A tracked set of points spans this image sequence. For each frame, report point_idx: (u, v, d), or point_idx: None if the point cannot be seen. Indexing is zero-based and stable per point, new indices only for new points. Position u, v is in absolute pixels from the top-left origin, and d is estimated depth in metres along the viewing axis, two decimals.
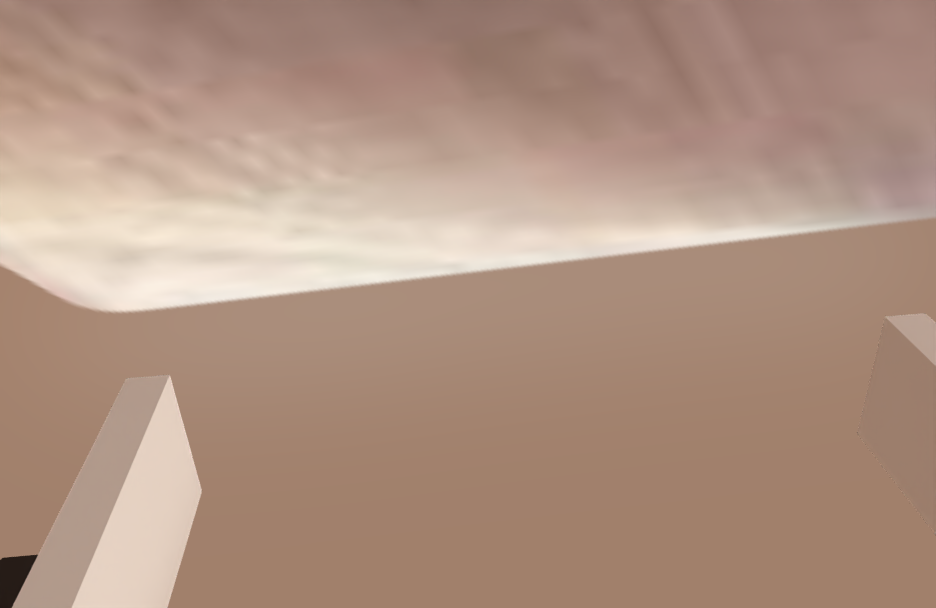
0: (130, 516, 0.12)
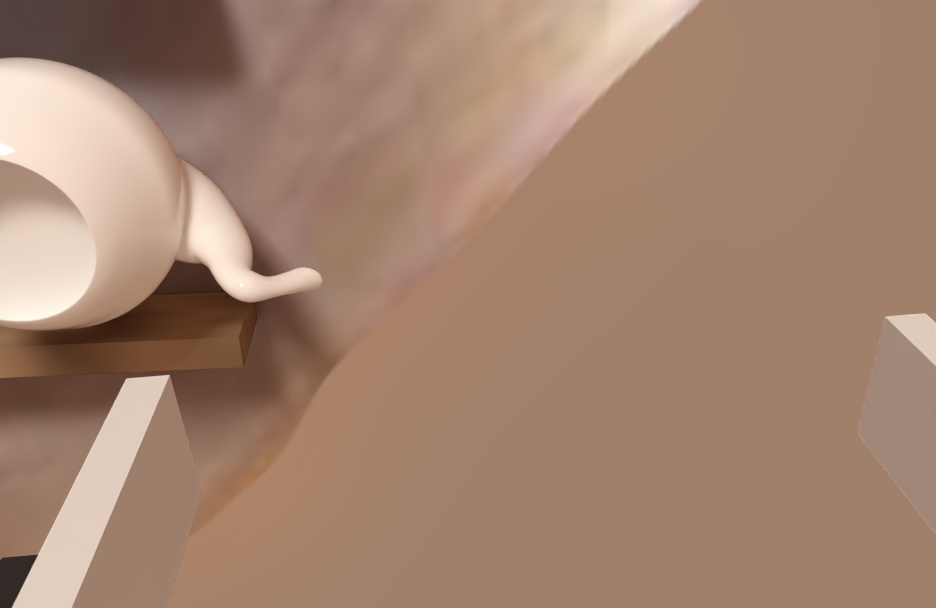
0: (130, 516, 0.12)
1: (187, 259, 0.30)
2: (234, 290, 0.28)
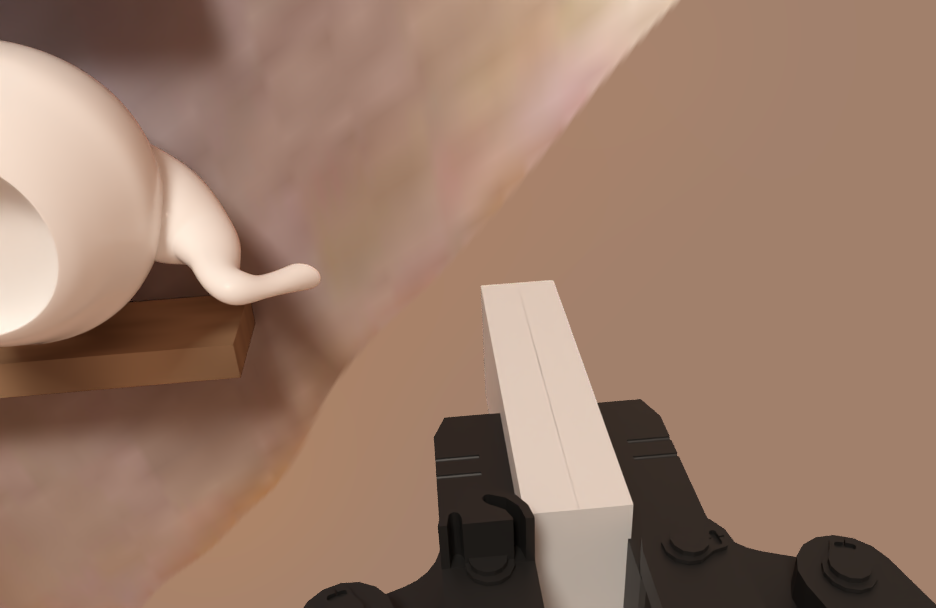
0: None
1: (168, 260, 0.27)
2: (219, 292, 0.24)
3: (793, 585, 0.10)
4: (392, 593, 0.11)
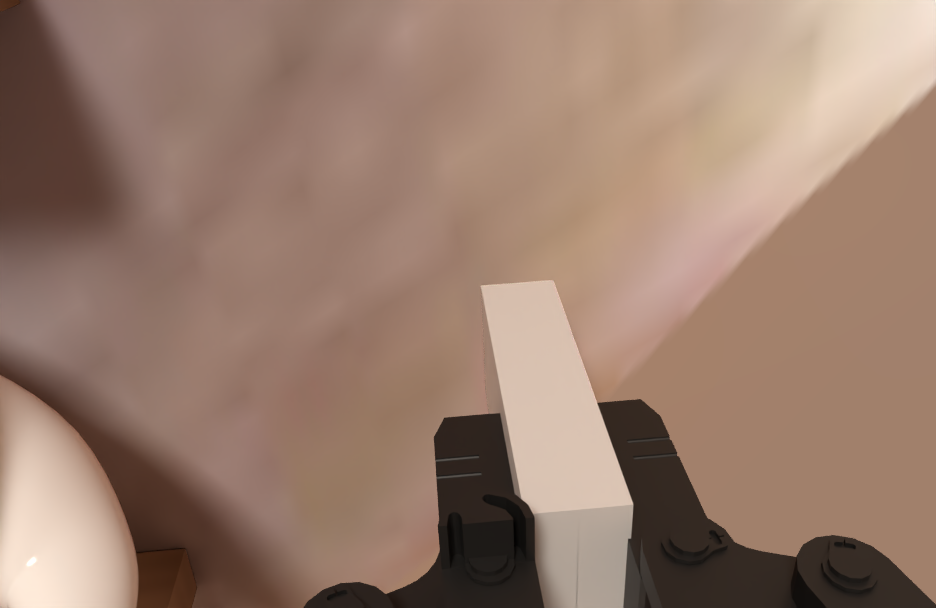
0: None
1: None
2: None
3: (794, 585, 0.10)
4: (392, 593, 0.11)
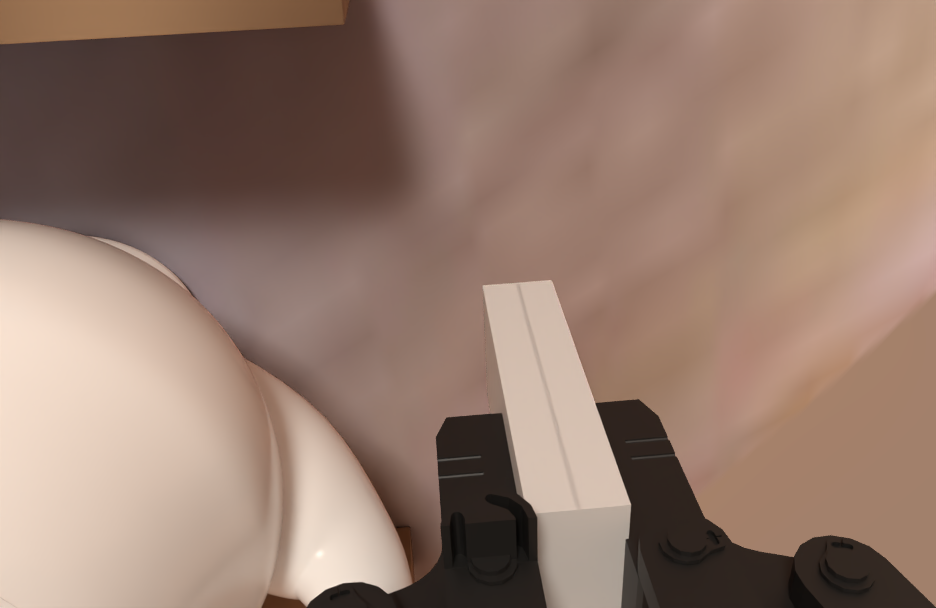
0: None
1: (282, 597, 0.15)
2: None
3: (791, 587, 0.10)
4: (394, 592, 0.11)
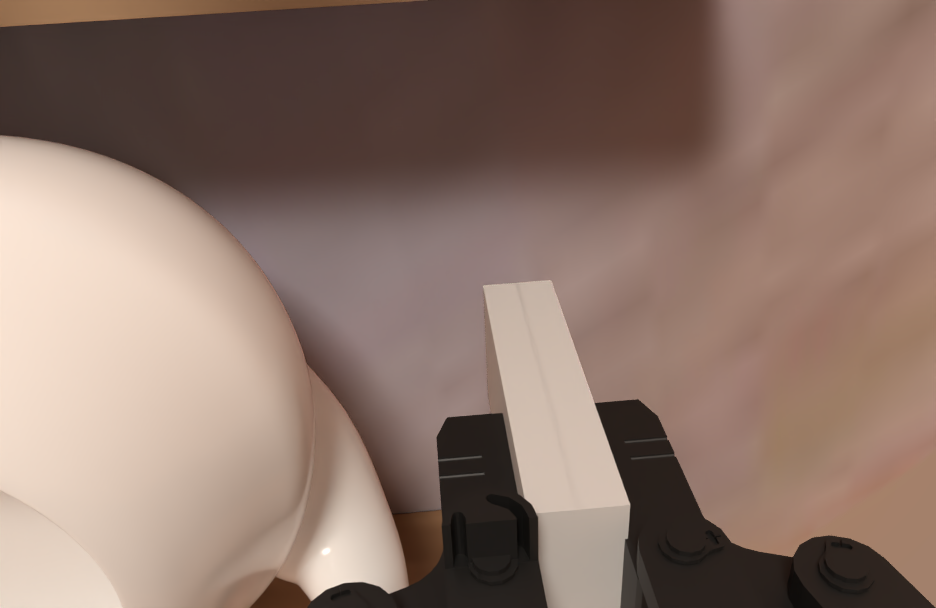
0: None
1: None
2: None
3: (790, 587, 0.10)
4: (395, 592, 0.11)
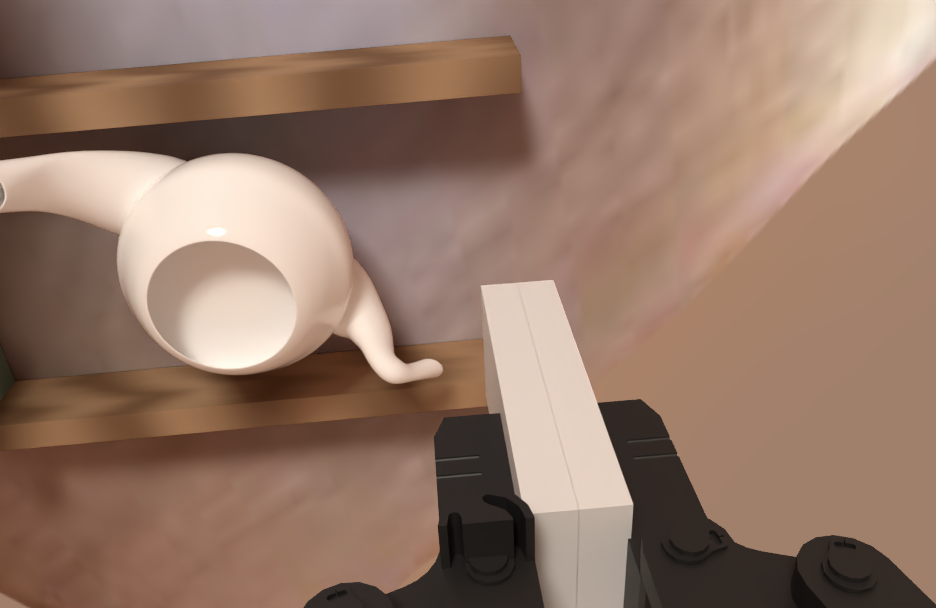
0: None
1: (338, 333, 0.36)
2: (384, 373, 0.34)
3: (793, 585, 0.10)
4: (392, 593, 0.11)
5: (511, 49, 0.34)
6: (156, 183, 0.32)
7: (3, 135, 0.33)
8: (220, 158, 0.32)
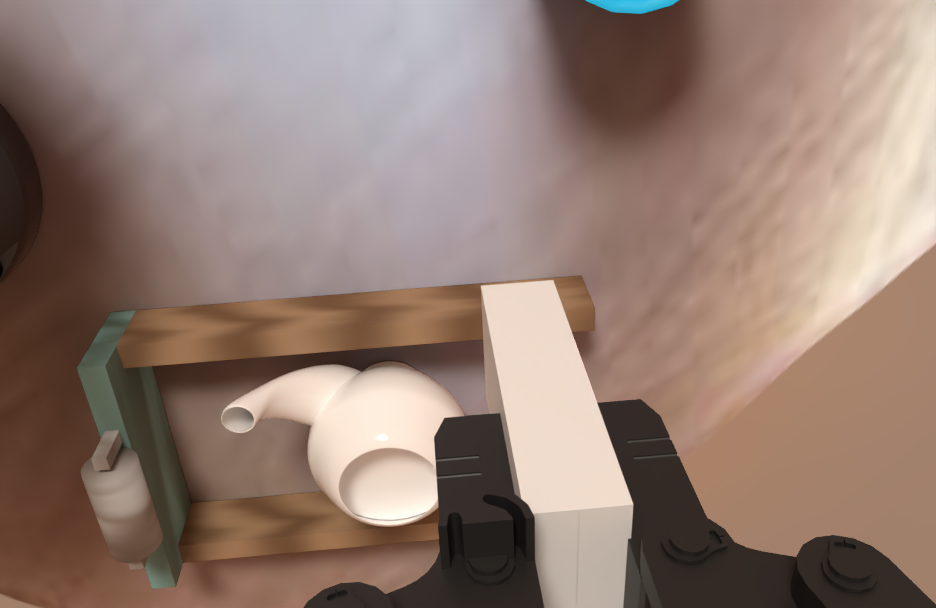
0: None
1: None
2: None
3: (794, 585, 0.10)
4: (392, 593, 0.11)
5: (586, 298, 0.48)
6: (342, 399, 0.46)
7: (228, 358, 0.47)
8: (386, 380, 0.46)
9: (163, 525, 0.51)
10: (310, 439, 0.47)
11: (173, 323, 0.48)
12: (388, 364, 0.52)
